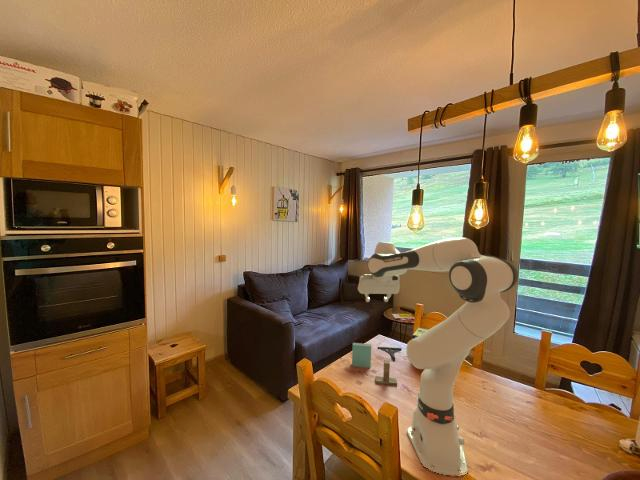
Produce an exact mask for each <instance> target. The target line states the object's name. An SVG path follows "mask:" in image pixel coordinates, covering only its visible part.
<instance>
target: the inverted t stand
mask: <svg viewBox="0 0 640 480" xmlns="http://www.w3.org/2000/svg"><path fill="white" fill-rule="evenodd" d="M390 367H391V364H390V360H383V375H382V376H379V375H376V376H374V377H375V384H377V385H383V386H384V385H385V386H395V387H398V382H397V381H398V380H397V378H396V377H390Z"/></svg>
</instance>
